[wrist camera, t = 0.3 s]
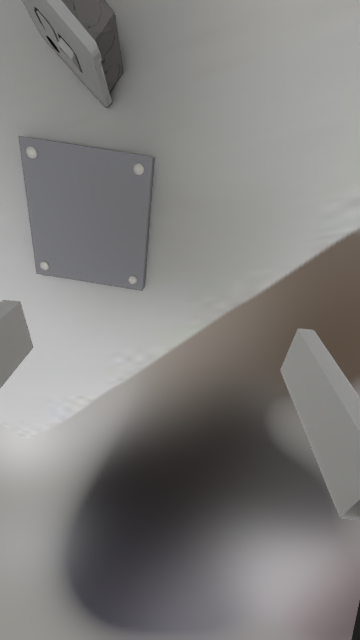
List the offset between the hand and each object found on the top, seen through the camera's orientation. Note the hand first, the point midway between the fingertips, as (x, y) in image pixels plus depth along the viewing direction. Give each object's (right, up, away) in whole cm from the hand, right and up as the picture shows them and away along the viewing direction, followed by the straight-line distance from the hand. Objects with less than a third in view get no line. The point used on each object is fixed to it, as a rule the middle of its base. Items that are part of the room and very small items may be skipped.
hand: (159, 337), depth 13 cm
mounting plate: (-11, +15, +23) cm, 29 cm away
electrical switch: (-9, +30, +15) cm, 35 cm away
